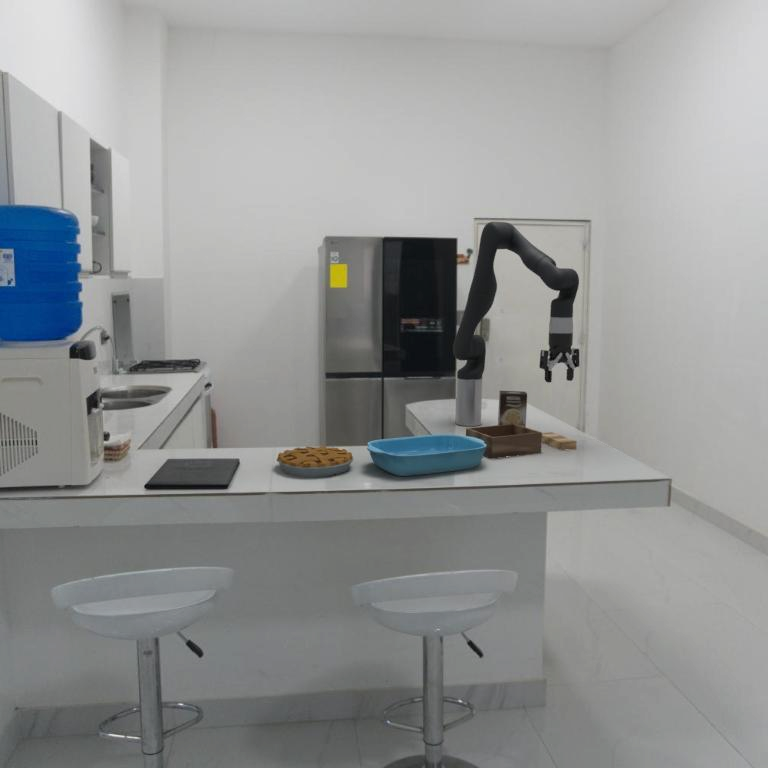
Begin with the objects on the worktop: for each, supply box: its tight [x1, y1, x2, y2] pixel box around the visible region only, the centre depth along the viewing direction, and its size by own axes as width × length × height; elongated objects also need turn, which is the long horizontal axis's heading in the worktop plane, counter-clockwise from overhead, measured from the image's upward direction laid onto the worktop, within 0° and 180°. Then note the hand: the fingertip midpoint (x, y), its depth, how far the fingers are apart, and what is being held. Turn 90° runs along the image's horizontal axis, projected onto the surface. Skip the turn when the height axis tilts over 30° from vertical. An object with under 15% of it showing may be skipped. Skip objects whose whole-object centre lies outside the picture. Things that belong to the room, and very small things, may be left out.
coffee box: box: [497, 390, 528, 428], centre depth 251 cm, size 9×6×16 cm
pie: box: [276, 445, 354, 478], centre depth 213 cm, size 22×22×5 cm
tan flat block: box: [541, 432, 577, 451], centre depth 243 cm, size 14×6×3 cm, turn 21°
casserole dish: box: [366, 433, 487, 477], centre depth 216 cm, size 37×22×7 cm, turn 117°
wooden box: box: [465, 424, 542, 459], centre depth 235 cm, size 15×18×6 cm
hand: (558, 381), depth 240 cm, fingers open, 8 cm apart
